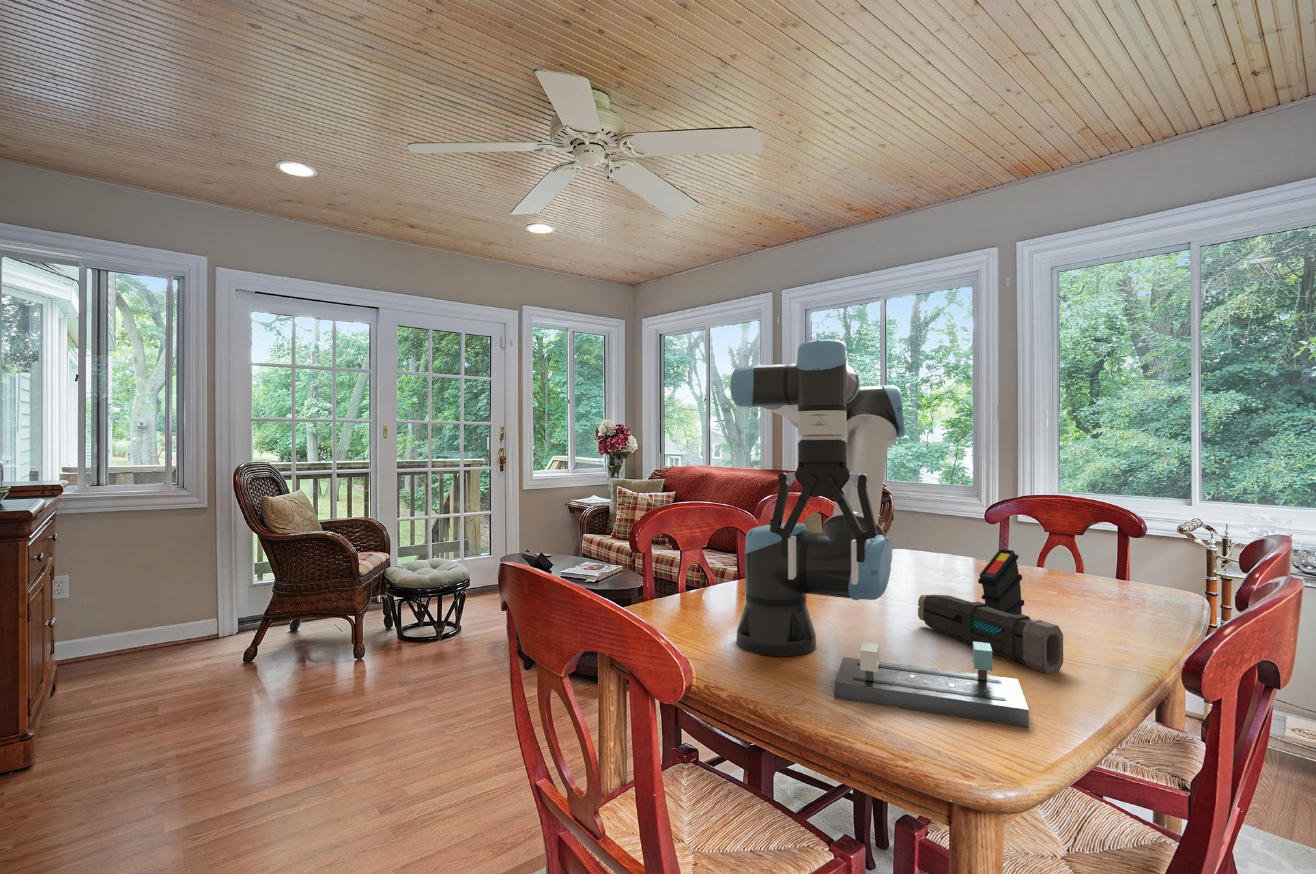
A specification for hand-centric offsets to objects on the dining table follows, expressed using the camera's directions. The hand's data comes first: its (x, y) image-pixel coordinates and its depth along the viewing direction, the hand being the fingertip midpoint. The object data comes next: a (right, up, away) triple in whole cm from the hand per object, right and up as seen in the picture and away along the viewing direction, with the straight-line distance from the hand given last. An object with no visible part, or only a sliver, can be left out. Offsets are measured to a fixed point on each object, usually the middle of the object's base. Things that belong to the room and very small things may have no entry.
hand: (822, 580), depth 100 cm
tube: (+36, -18, +20) cm, 45 cm away
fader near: (+6, -15, -3) cm, 16 cm away
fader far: (+24, -15, -3) cm, 28 cm away
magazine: (+49, -18, +38) cm, 64 cm away
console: (+15, -17, -3) cm, 23 cm away
